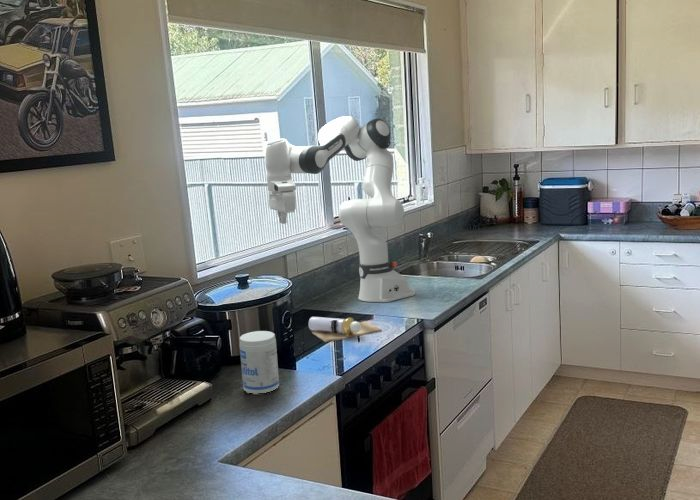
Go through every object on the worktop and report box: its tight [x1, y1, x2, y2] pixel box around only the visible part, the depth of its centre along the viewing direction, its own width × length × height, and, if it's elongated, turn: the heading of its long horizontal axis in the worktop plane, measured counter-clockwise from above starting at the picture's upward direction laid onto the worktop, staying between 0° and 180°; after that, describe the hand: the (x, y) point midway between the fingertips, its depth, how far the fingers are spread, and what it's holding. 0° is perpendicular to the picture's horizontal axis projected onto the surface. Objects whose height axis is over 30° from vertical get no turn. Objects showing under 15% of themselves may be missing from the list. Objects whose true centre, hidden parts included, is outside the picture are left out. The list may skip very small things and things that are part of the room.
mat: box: [311, 320, 383, 343], centre depth 229 cm, size 20×12×1 cm, turn 114°
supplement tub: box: [239, 330, 280, 395], centre depth 183 cm, size 10×10×15 cm
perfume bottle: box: [307, 316, 361, 336], centre depth 226 cm, size 6×6×20 cm
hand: (283, 223), depth 250 cm, fingers closed
